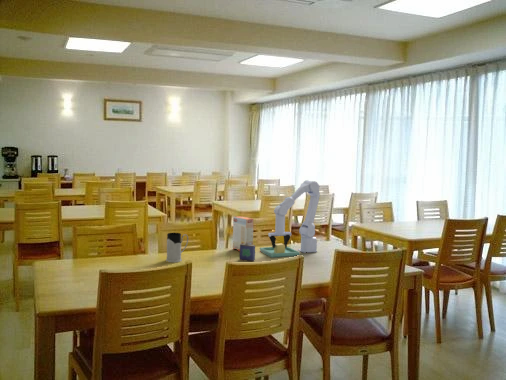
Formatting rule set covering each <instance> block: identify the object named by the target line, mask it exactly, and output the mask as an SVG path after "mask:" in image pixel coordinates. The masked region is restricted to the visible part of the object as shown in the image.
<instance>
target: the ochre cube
mask: <svg viewBox="0 0 506 380" xmlns="http://www.w3.org/2000/svg"><path fill="white" fill-rule="evenodd" d="M274 252H275V253H285V245H284V243H282V242H281V243H275V248H274Z"/></svg>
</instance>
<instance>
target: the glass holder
mask: <svg viewBox="0 0 506 380" xmlns="http://www.w3.org/2000/svg"><path fill="white" fill-rule="evenodd" d="M185 236H186V243H185V246H184V247H183V248H182V243H183V238H184V237H185ZM188 243H189V236H188V234H183V235H182V234H181V233H180V232H169V233H167V235H166V259H165V261H166V262H167V261H168V262H167V263H180V262H182V253H183V252H184V250H185V249H186V248H187V246H188Z"/></svg>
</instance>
